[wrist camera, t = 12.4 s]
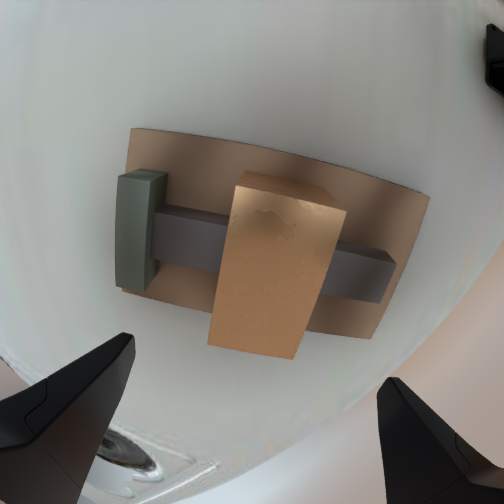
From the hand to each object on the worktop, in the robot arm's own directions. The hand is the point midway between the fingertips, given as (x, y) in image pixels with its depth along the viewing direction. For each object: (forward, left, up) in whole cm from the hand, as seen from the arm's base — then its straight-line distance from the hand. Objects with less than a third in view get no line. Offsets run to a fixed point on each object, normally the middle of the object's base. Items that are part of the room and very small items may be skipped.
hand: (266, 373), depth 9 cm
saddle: (0, 0, -11) cm, 11 cm away
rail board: (0, 0, -12) cm, 12 cm away
